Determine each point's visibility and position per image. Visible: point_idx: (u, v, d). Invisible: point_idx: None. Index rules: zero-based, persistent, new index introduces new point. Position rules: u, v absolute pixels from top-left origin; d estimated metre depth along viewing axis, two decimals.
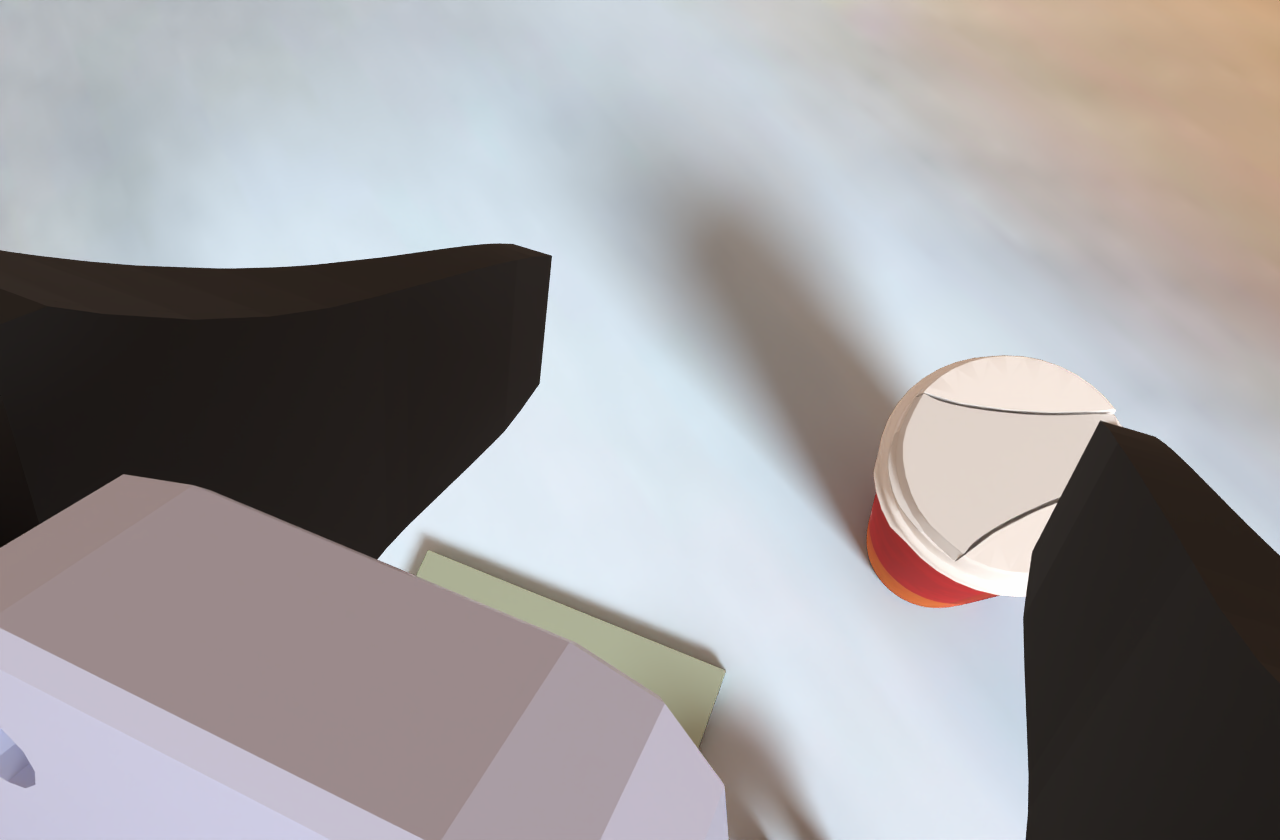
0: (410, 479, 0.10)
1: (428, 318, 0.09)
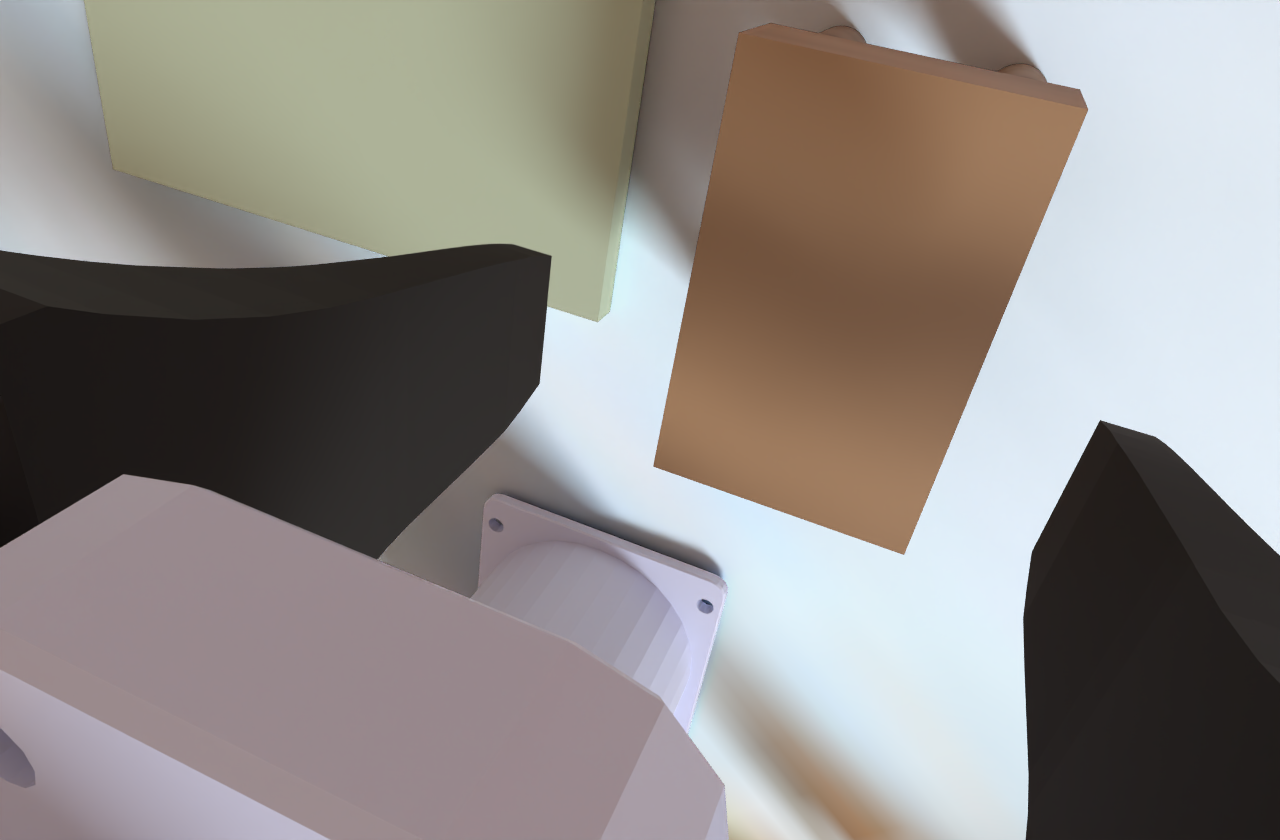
0: (410, 479, 0.10)
1: (429, 317, 0.09)
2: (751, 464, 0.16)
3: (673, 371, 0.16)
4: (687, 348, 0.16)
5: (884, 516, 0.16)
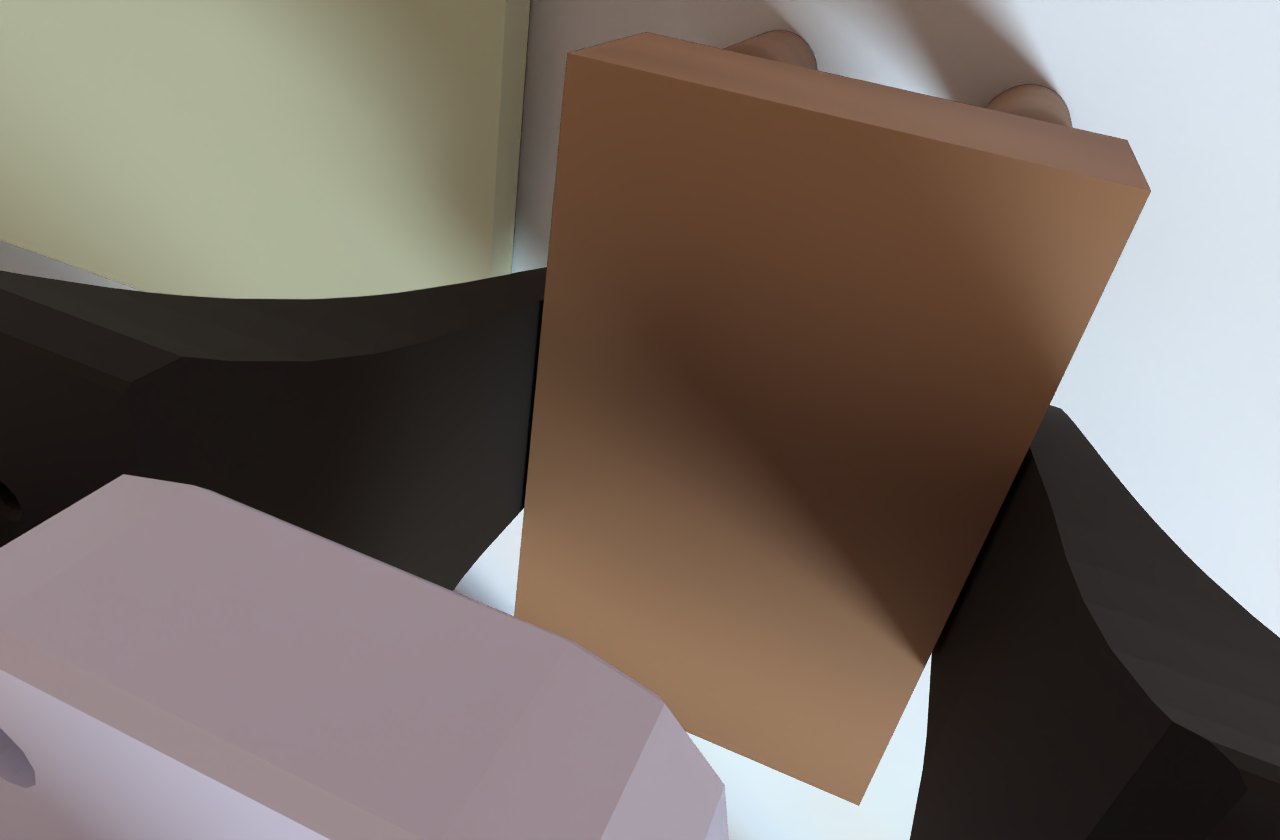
0: (486, 509, 0.10)
1: (512, 345, 0.09)
2: (640, 668, 0.11)
3: (522, 539, 0.11)
4: (538, 511, 0.11)
5: (829, 754, 0.11)
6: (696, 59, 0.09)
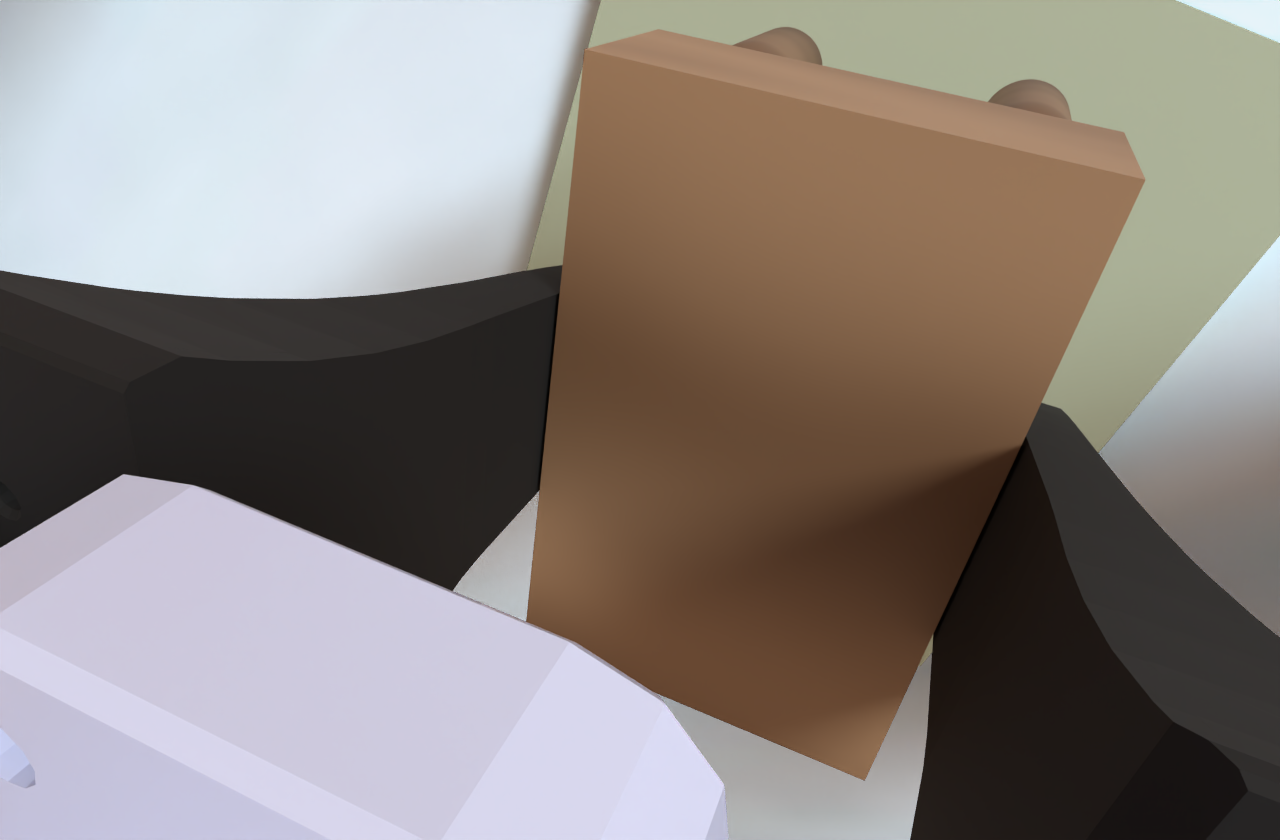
0: (485, 508, 0.10)
1: (511, 344, 0.09)
2: (651, 648, 0.12)
3: (538, 522, 0.11)
4: (553, 494, 0.11)
5: (835, 731, 0.11)
6: (708, 55, 0.09)
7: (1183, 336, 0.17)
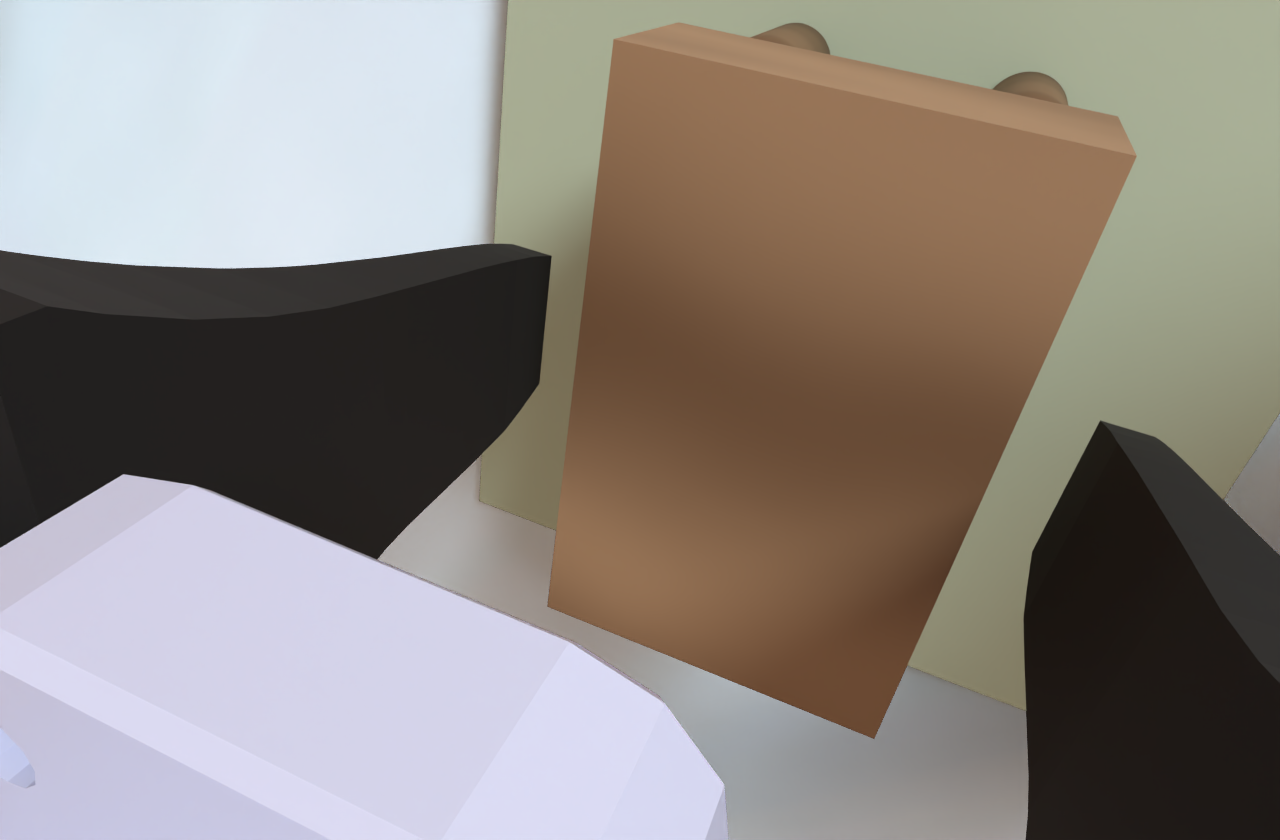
0: (410, 479, 0.10)
1: (428, 318, 0.09)
2: (670, 613, 0.12)
3: (562, 493, 0.12)
4: (577, 465, 0.11)
5: (846, 690, 0.12)
6: (727, 45, 0.09)
7: None
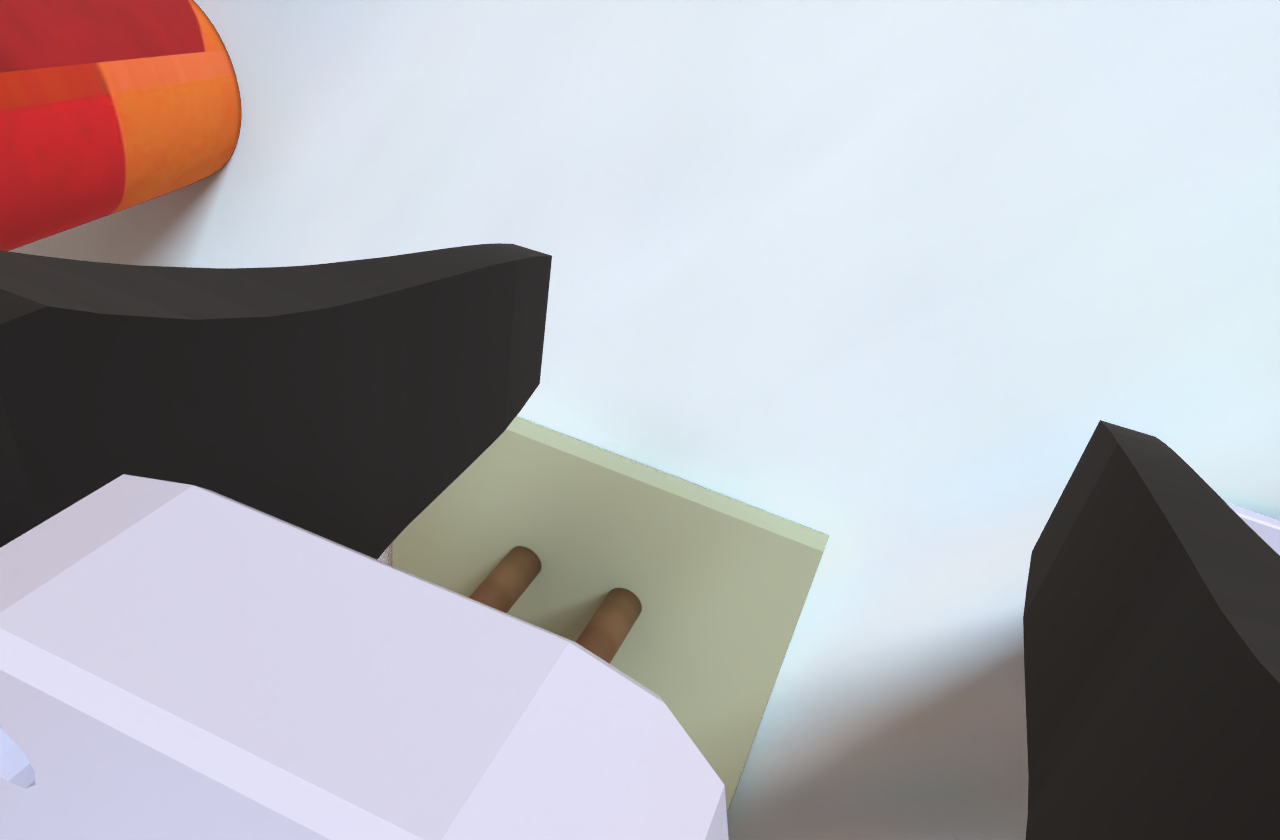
0: (410, 479, 0.10)
1: (428, 318, 0.09)
2: None
3: None
4: None
5: None
6: None
7: (771, 673, 0.26)
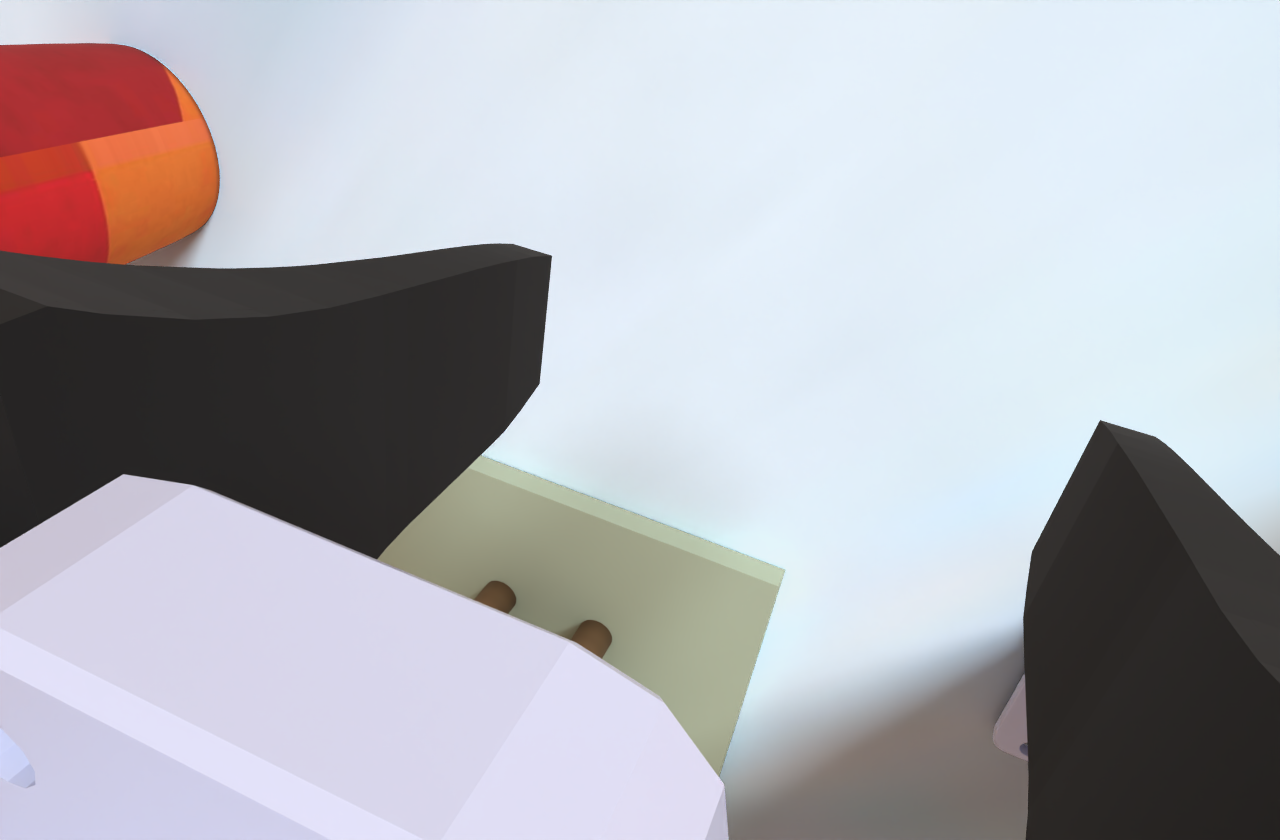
0: (410, 479, 0.10)
1: (428, 317, 0.09)
2: None
3: None
4: None
5: None
6: None
7: (736, 700, 0.28)
